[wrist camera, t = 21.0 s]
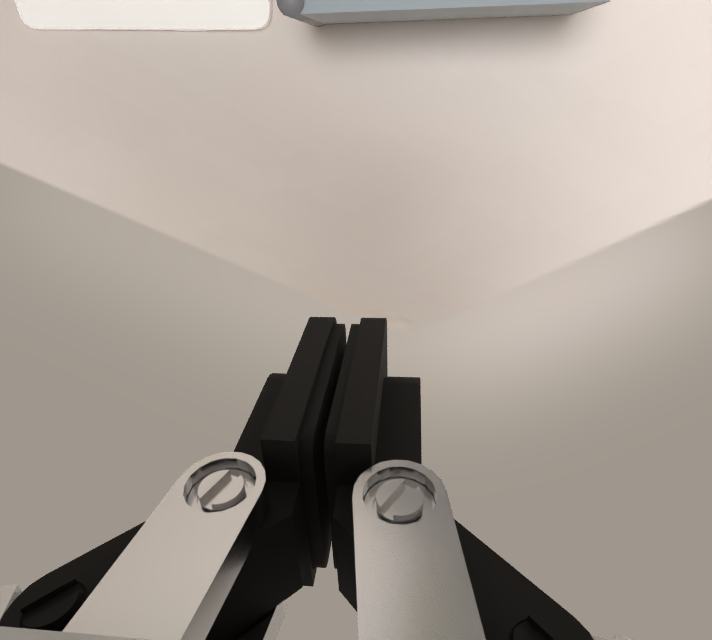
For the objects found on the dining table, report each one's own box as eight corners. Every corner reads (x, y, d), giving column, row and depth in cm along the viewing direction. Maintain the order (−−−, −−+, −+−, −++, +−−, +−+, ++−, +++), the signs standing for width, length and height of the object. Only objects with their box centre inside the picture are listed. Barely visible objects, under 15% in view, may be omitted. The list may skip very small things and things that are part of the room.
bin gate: (307, 26, 27) (278, 17, 22) (306, 0, 26) (275, -16, 21) (570, 16, 25) (610, 4, 20) (574, -11, 25) (616, -32, 19)
